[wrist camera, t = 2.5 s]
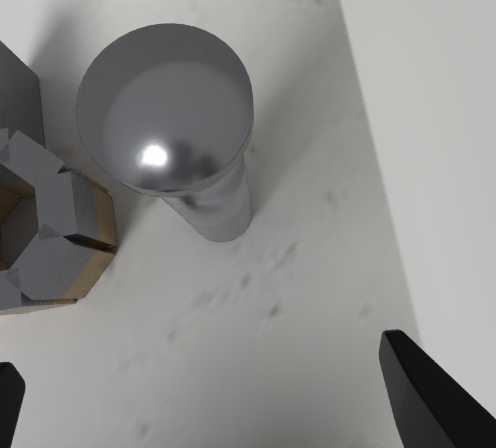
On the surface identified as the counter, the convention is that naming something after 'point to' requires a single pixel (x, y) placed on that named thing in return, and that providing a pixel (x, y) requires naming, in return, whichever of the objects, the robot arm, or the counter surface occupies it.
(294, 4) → the counter surface
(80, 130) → the hinge pin
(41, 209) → the hinge
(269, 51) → the counter surface
